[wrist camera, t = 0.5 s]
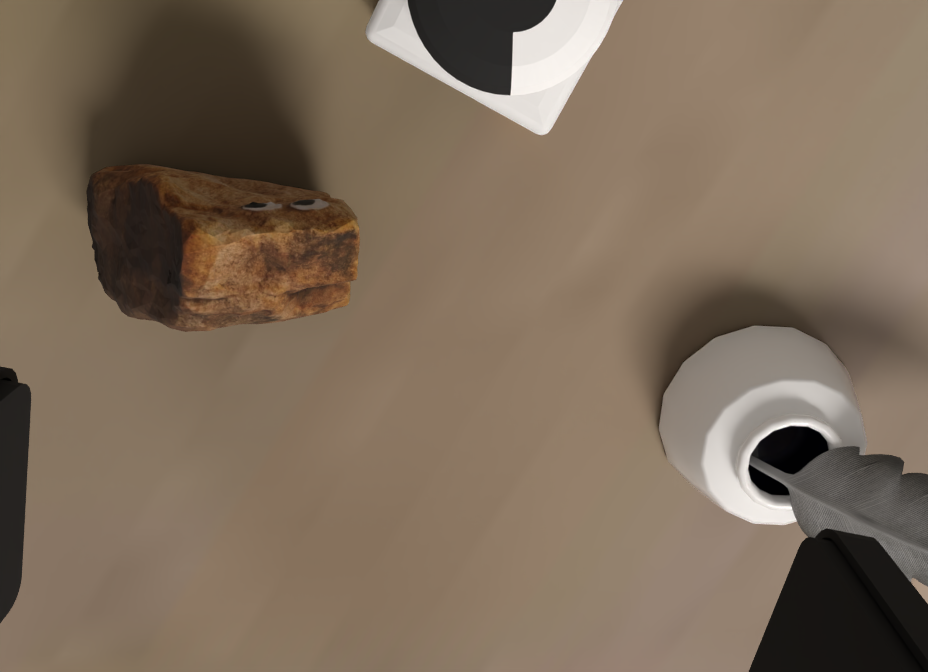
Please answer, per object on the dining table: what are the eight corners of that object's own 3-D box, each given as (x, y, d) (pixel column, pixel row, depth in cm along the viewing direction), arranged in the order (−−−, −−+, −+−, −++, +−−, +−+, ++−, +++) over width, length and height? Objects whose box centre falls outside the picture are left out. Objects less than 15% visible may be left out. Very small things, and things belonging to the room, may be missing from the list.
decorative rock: (382, 165, 38) (351, 218, 28) (375, 299, 40) (343, 394, 30) (101, 139, 37) (-35, 184, 27) (108, 275, 39) (-16, 364, 29)
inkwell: (696, 301, 40) (767, 388, 30) (1057, 394, 41) (1232, 504, 32) (631, 475, 43) (677, 604, 33) (970, 557, 44) (1106, 701, 35)
